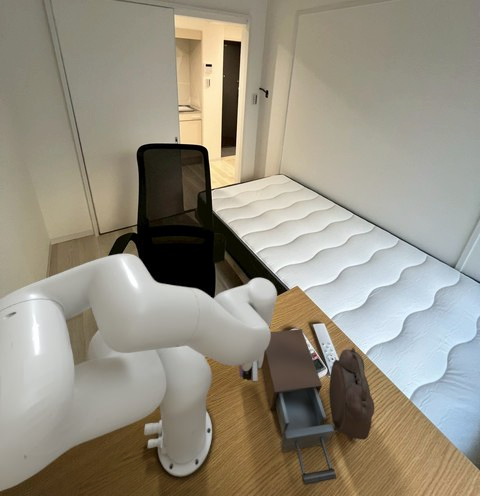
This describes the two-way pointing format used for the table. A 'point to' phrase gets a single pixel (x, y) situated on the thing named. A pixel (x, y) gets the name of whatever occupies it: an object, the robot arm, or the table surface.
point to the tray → (304, 428)
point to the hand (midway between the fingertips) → (246, 366)
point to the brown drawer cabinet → (288, 365)
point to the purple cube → (241, 370)
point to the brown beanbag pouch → (350, 396)
